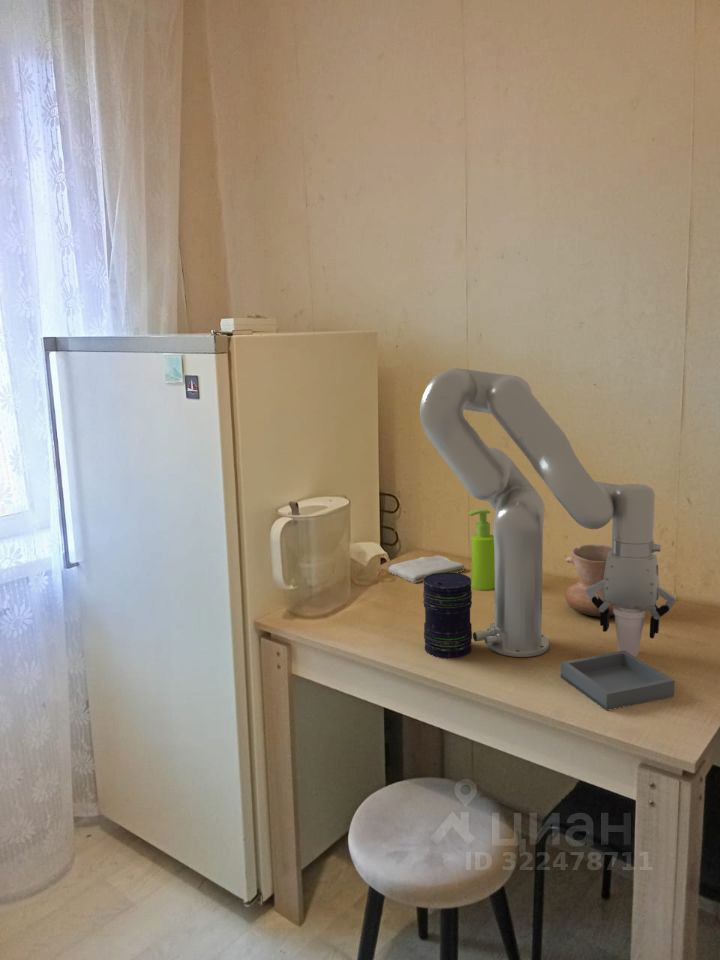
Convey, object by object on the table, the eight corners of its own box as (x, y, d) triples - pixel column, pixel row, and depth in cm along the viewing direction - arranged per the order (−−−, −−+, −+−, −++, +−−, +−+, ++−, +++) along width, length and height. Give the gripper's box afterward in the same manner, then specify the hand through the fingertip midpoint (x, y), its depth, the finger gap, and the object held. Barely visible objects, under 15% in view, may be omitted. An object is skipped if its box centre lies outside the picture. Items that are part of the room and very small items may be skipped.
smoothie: (649, 660, 152) (652, 592, 149) (616, 661, 152) (619, 592, 150) (638, 647, 158) (641, 581, 156) (607, 647, 159) (609, 582, 156)
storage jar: (441, 635, 167) (440, 569, 165) (481, 646, 161) (481, 577, 158) (414, 651, 160) (413, 582, 157) (455, 663, 154) (454, 591, 151)
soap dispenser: (464, 585, 199) (463, 509, 196) (488, 581, 201) (488, 506, 198) (474, 592, 194) (473, 514, 190) (499, 588, 196) (499, 511, 192)
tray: (606, 710, 133) (606, 694, 133) (560, 677, 146) (561, 662, 146) (673, 696, 137) (674, 680, 137) (623, 664, 150) (624, 650, 150)
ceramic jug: (547, 609, 181) (549, 550, 178) (583, 593, 190) (585, 537, 187) (617, 631, 168) (620, 569, 164) (652, 613, 177) (655, 553, 174)
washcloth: (467, 572, 211) (467, 561, 210) (414, 586, 201) (413, 574, 201) (439, 562, 221) (439, 552, 220) (387, 575, 211) (387, 564, 211)
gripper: (681, 547, 151) (677, 632, 154) (589, 539, 158) (587, 620, 162) (678, 558, 144) (674, 646, 147) (582, 548, 152) (580, 633, 155)
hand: (628, 632), depth 154 cm, fingers open, 8 cm apart
